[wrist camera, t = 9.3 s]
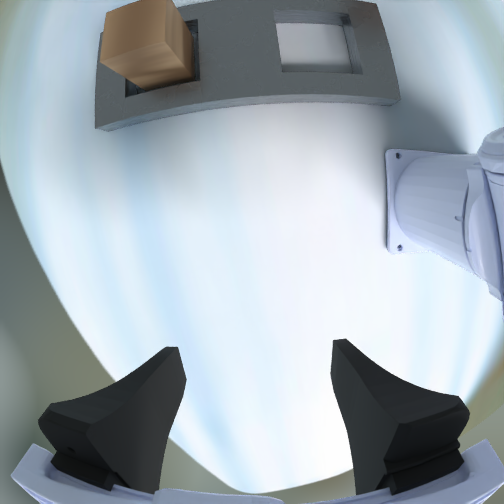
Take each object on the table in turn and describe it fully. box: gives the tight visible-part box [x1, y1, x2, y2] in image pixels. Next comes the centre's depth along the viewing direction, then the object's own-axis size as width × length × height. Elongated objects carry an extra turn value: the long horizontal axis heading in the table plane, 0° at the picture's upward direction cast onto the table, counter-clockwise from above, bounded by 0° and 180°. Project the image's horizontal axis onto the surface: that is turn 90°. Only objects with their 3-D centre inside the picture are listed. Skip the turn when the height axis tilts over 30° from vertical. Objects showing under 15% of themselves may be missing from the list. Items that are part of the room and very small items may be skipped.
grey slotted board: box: [95, 0, 401, 131], centre depth 16 cm, size 22×9×2 cm, turn 95°
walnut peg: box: [100, 0, 195, 91], centre depth 14 cm, size 4×4×7 cm
